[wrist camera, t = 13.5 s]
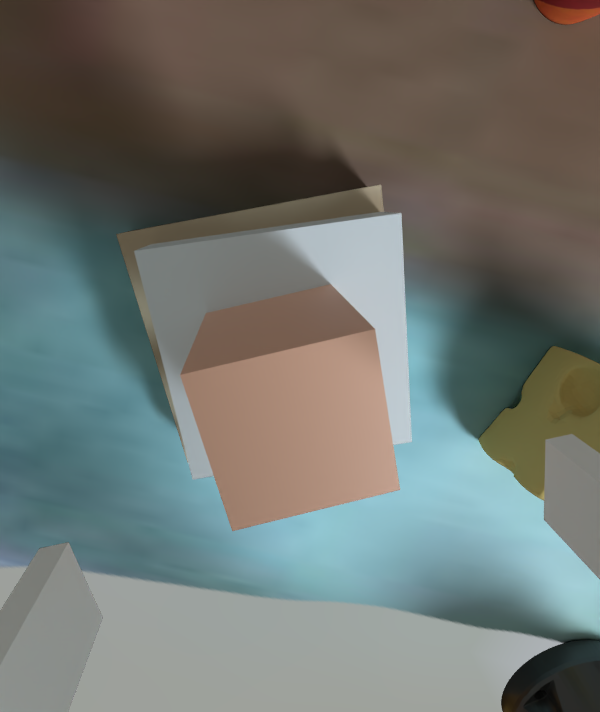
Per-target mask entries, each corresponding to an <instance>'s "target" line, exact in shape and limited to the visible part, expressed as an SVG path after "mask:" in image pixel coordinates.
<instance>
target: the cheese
mask: <svg viewBox="0 0 600 712" xmlns="http://www.w3.org/2000/svg"><path fill="white" fill-rule="evenodd" d="M521 394H522V398H521V401H520V403H519V404H518V405H517V406H516V407H515V408H513V409H510V408H505V409H504V410H503V411H502V412H501V413H500V414H499V416H498V417H497V418H496V419H495V420H494V421H493V423H492V424H491V425H490V426H489V428H488V429H487V430H486V431H485V432H484V433H483V434H482V435H481V436H480V438H479V442H480V444H481V446H482V448H483V450H484V451H485V452H486V454H487V455H489V456H490V457H491V458H492V459H493V460H495V461H496V462H497V463H499V464H501V465H502V466H504V467H506V468H507V469H509V470H510V471H511V472H512V473H513V474H514V477H515V478H516V480H517V481H518V482H519V483H520V484H521V485H522V486H523V487H524V488H525V489H526V490H528V491H529V492H531V493H532V494H533V495H535V496H536V497H538V498H540V499H542V500H544V488H545V440H546V439H550V438H555V437H560V436H564V435H569V434H573V435H574V436H576V437H577V438H579V439H580V440H581V441H583V442H584V443H586V444H587V445H588V446H590V447H591V448H593V449H594V450H596V451H597V452H598V453H600V364H599V363H597V362H595V361H593V360H591V359H588V358H586V357H584V356H582V355H579V354H577V353H574V352H572V351H569V350H566V349H563V348H560V347H557V346H552V347H551V348H550V349H549V350H548V352H547V353H546V354H545V356H544V357H543V358H542V360H541V361H540V363H539V364H538V365H537V367H536V368H535V369H534V371H533V372H532V373H531V375H530V376H529V378H528V379H527V380H526V382H525V384H524V385H523V389H522V392H521Z"/></svg>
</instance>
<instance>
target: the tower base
mask: <svg viewBox="0 0 600 712" xmlns="http://www.w3.org/2000/svg"><path fill="white" fill-rule="evenodd" d="M375 212H384V210H383V200H382V190H381V185H376V186H370V187H364V188H358V189H353V190H348V191H342V192H337V193H332V194H326V195H321V196H315V197H310V198H305V199H299V200H294V201H289V202H283V203H278V204H273V205H267V206H262V207H256V208H251V209H246V210H240V211H235V212H230V213H224V214H219V215H214V216H208V217H203V218H198V219H192V220H187V221H181V222H176V223H171V224H165V225H160V226H155V227H149V228H144V229H139V230H133V231H128V232H124V233H120V234H116V235H117V238H118V241H119V245H120V248H121V251H122V254H123V257H124V261H125V264H126V267H127V270H128V273H129V277H130V280H131V283H132V286H133V289H134V293H135V296H136V299H137V302H138V305H139V309H140V312H141V315H142V318H143V321H144V324H145V328H146V331H147V334H148V337H149V340H150V344H151V347H152V350H153V353H154V356H155V360H156V363H157V366H158V369H159V372H160V376H161V379H162V382H163V385H164V388H165V392H166V395H167V398H168V401H169V404H170V408H171V411H172V414H173V417H174V420H175V424H176V427H177V430H178V433H179V436H180V440H181V443H182V446H183V449H184V452H185V456H186V459H187V455H186V451H185V447H184V444H183V440H182V436H181V432H180V428H179V424H178V420H177V416H176V412H175V409H174V405H173V401H172V397H171V393H170V389H169V385H168V381H167V377H166V374H165V370H164V366H163V362H162V358H161V354H160V350H159V346H158V342H157V339H156V335H155V331H154V327H153V323H152V319H151V315H150V311H149V307H148V304H147V300H146V296H145V292H144V288H143V284H142V280H141V276H140V273H139V269H138V265H137V261H136V257H135V253H134V251H135V250H138V249H140V248H143V247H145V246H148V245H150V244H156V243H163V242H170V241H177V240H184V239H191V238H198V237H205V236H212V235H219V234H226V233H233V232H241V231H248V230H255V229H262V228H269V227H276V226H283V225H290V224H297V223H304V222H311V221H318V220H325V219H332V218H340V217H347V216H354V215H361V214H368V213H375ZM187 462H188V459H187Z"/></svg>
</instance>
